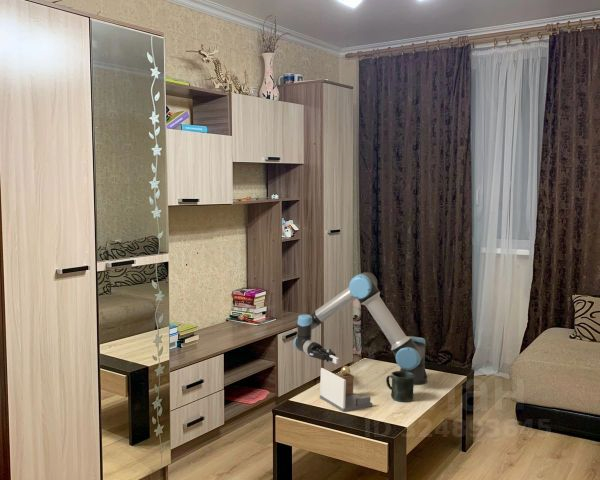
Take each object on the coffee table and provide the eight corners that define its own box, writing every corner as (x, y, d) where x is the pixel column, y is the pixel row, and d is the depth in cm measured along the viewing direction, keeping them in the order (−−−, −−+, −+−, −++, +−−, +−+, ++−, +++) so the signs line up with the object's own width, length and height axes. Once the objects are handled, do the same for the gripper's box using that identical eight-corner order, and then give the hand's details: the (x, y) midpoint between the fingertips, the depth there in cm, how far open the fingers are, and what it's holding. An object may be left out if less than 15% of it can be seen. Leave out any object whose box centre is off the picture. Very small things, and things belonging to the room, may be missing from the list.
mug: (406, 404, 286) (407, 379, 285) (380, 397, 295) (380, 372, 294) (418, 398, 294) (419, 374, 293) (392, 391, 304) (393, 368, 303)
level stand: (320, 398, 292) (320, 368, 291) (348, 393, 300) (348, 364, 299) (343, 411, 275) (344, 380, 273) (372, 406, 282) (373, 375, 281)
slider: (336, 392, 295) (337, 365, 293) (347, 390, 298) (348, 363, 296) (342, 395, 290) (343, 368, 289) (353, 394, 293) (353, 366, 292)
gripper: (323, 354, 322) (348, 367, 302) (301, 357, 316) (325, 370, 296) (324, 340, 322) (349, 352, 301) (302, 343, 315) (326, 355, 295)
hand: (337, 361), depth 298 cm, fingers closed
